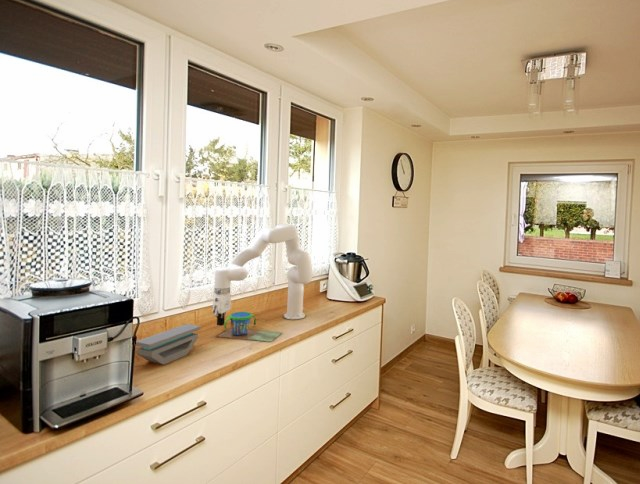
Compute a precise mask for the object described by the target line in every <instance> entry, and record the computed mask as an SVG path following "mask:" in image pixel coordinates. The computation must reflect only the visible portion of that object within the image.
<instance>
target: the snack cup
mask: <svg viewBox="0 0 640 484" xmlns="http://www.w3.org/2000/svg"><path fill="white" fill-rule="evenodd" d="M252 317H253V318H254V319H253V326H256V325H257V318H256V316H255V315H254V314H253V313H251V312H249V311H236V312H232V313H231V314H230V315H228V316H227V317H226V318H225V320H224V325H223V327H224V330H227V322H228V321H229V320H230V328H232V334H234V335H243V334H246V333H247V332H248V330H249V327H250V322H251V319H252Z"/></svg>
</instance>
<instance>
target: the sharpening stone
mask: <svg viewBox="0 0 640 484" xmlns="http://www.w3.org/2000/svg"><path fill="white" fill-rule="evenodd" d="M200 330H201V326H200V325H196V324H195V325H194V324H190V323H186V324H183V325H182V324H181V325H180V326H177V327H174V328H171V329H167V330H165V331H162V332H159V333H156V334H153V335H150V336H147V337H144V338H142V339H138V340H135V341H136V346H135V347H138V348H137V349H136V354H137V355H138V356H140V357H141V358H143V359H145V360H146V361H148V362H150V363H155V364H159V365H163V366H164V365H167V364H169V363H171V362H174V361H176V360H178V359H181V358H182V357H185V356H187V355H188V354H189V353H190V351H191V349H192V348H193V347H194V346H195V343H196V342H197V341H198V339H199V334H198V333H195V332H198V331H200Z"/></svg>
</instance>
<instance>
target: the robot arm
mask: <svg viewBox="0 0 640 484" xmlns="http://www.w3.org/2000/svg"><path fill="white" fill-rule="evenodd" d="M280 243H285V248H286V256H287V262H288V263H289V264H290V265H292V266H291V267H290V268H289V269H288V270H287V274H286V277H287V301H286V302H287V304H286V313H284V314H283V318H284V319H285V320H294V321H295V320H302V319H304V318H305V317H306V314H305V313H304V312H303V311H304V295H305V294H304V293H305V285H308V284H310V283H311V281H312V279H313V264H312V258H311V255H310V254H309V253H308V252H307V251H304V250H302V246H301V241H300V237H299V229H298V228H297V227H296V226H295V225H294V224H286V223H278V224H277V225H275V227H274V228H272V227H262V228H261V229H259V230H258V232H257V233H256V235H255V236H254V237H253V238H252V240H251V241H250V242H249V244H248V245H247V246H246V247H245V248H244V249H242V250H241V251H240V252H239V253H237V254H236V255H235V256H234V257H233V258H232V259H231V260H230V262H229V263H228V265H226V266H219V267H216V268H215V270H214V271H215V272H214V290H213V300H212V313H213V316H214V317H216V326H224V323H225V320H226V318H225V317H226V314H227V312H229V311H230V310H231V309H232V295H231V281H232V282H233V281H235V282H240V281H245V279H246V278H247V277H248V270H247V269H246V268H245V267H244V266H245V265H246V264H247V263H248V262H250V261H252V260H254V259H257V258H259V257H260V256H261V255H262V254H263V253H264V251H265V250H266V248H267V247H268V245H269V244H280Z"/></svg>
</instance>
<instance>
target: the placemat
mask: <svg viewBox="0 0 640 484" xmlns="http://www.w3.org/2000/svg"><path fill="white" fill-rule="evenodd" d="M281 334H282V332H279V331H268V330H256V329H248V332H247V333H246V334H243V335H234V334H232V327H230V328H228V329H225V330H224V331H223V332H221V333H219V334H218V335H216V338H222V339H234V340H245V341H246V340H247V341H257V342H267V343H272V342H273V341H275V339H277V338H278V337H279V336H280V335H281Z"/></svg>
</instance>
